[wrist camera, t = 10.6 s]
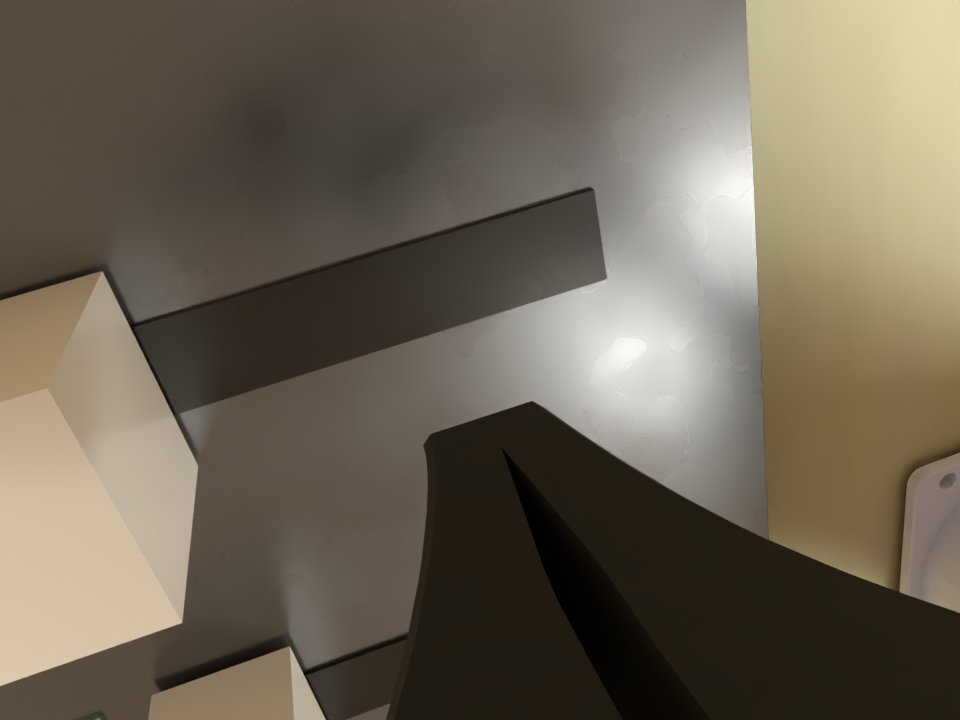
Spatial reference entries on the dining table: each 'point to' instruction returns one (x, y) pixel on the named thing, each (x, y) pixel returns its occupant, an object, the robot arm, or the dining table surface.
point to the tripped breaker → (85, 482)
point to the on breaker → (243, 693)
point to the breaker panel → (383, 279)
